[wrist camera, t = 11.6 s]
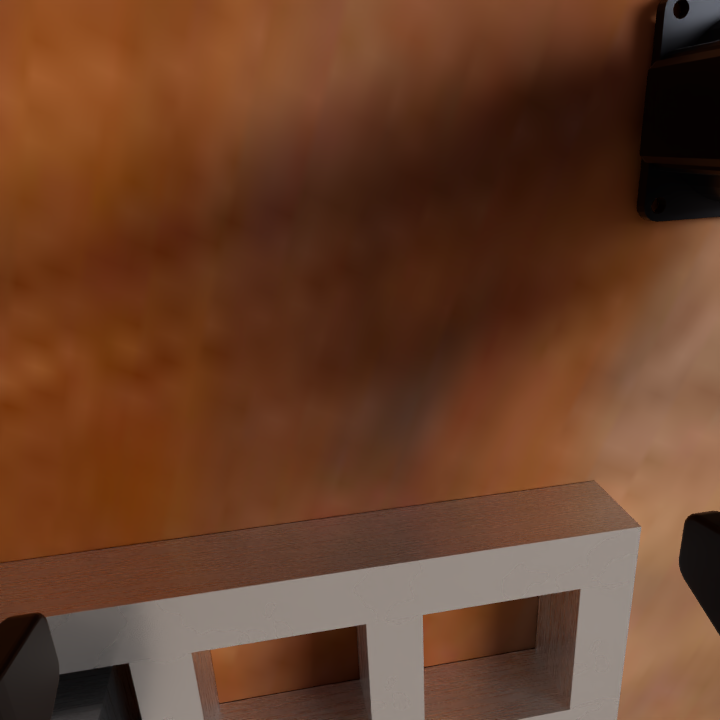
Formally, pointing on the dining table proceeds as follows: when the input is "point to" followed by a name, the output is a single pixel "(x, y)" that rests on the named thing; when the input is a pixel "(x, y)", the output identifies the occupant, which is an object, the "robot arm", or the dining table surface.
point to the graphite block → (97, 695)
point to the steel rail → (358, 607)
